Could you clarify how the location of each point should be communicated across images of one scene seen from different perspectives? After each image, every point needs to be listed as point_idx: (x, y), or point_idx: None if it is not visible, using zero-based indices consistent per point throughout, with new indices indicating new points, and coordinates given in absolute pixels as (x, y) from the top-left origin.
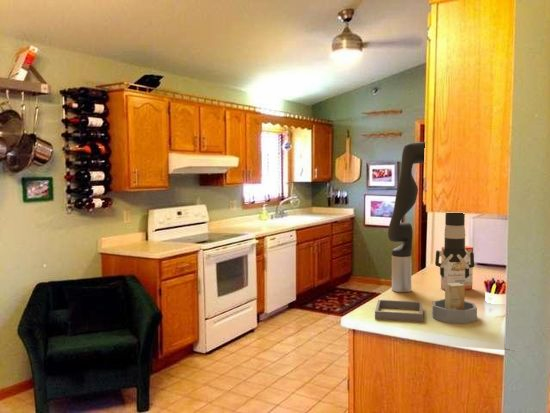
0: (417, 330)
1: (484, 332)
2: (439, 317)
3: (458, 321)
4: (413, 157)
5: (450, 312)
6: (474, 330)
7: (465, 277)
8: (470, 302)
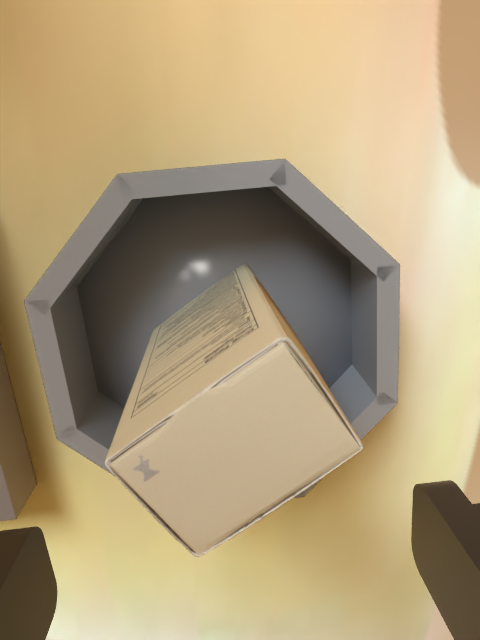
0: None
1: (379, 543)
2: None
3: None
4: None
5: None
6: (331, 530)
7: (419, 568)
8: (366, 234)
